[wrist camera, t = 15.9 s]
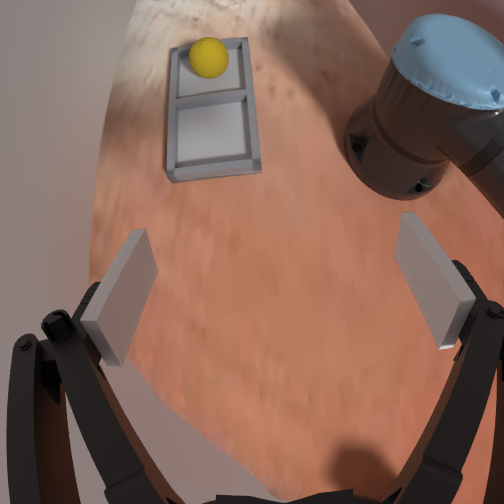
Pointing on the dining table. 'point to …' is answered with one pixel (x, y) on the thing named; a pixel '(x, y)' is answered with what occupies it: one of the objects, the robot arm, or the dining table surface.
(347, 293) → the dining table surface
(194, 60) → the lemon
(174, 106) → the grey divided tray
